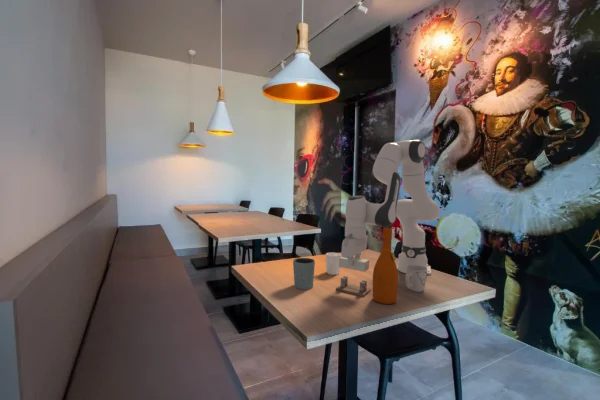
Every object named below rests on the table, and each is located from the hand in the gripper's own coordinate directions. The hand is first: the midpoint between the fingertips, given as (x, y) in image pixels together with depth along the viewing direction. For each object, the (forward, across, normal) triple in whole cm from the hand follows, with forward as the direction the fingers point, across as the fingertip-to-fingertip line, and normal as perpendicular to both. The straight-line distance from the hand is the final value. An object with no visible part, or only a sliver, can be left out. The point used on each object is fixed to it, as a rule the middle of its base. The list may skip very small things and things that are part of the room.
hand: (353, 263), depth 133 cm
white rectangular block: (+2, 0, 0) cm, 2 cm away
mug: (+12, +17, -22) cm, 31 cm away
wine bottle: (+12, -3, -15) cm, 19 cm away
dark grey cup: (+12, -8, +21) cm, 25 cm away
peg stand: (+12, 0, 0) cm, 12 cm away
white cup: (+12, +18, +19) cm, 29 cm away
